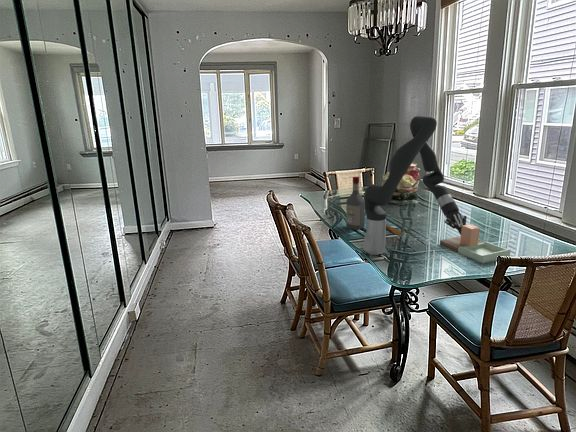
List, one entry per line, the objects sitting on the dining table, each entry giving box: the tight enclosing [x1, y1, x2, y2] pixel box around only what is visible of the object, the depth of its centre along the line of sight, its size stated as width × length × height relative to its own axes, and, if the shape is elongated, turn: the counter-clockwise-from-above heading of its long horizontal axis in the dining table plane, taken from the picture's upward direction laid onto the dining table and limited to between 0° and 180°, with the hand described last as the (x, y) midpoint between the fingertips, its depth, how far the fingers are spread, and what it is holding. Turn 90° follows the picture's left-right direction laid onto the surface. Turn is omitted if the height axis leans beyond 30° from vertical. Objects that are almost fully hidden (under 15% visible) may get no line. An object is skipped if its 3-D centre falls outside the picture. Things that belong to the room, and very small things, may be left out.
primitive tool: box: [386, 223, 404, 236], centre depth 217 cm, size 19×6×4 cm, turn 24°
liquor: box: [345, 176, 366, 231], centre depth 220 cm, size 9×9×30 cm
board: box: [439, 235, 484, 254], centre depth 189 cm, size 16×12×2 cm
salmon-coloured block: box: [460, 223, 481, 247], centre depth 183 cm, size 5×6×9 cm
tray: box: [457, 240, 511, 265], centre depth 177 cm, size 16×15×4 cm
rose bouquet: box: [380, 161, 423, 206], centre depth 276 cm, size 26×29×30 cm
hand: (463, 234), depth 187 cm, fingers closed
